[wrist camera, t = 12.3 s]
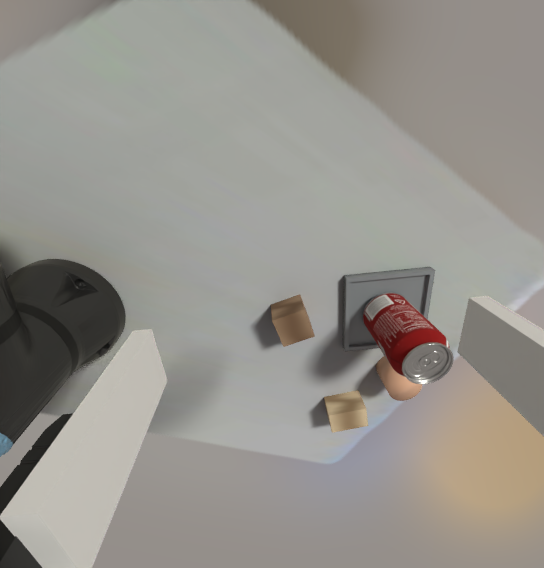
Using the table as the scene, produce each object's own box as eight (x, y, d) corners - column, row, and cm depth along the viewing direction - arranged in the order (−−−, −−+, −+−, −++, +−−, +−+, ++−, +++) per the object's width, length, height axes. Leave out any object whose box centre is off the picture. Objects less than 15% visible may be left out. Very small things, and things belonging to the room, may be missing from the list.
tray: (342, 346, 45) (344, 351, 44) (344, 275, 40) (346, 278, 39) (419, 338, 45) (423, 343, 44) (430, 266, 40) (435, 269, 39)
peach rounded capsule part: (375, 378, 48) (387, 402, 44) (377, 355, 46) (390, 376, 42) (404, 376, 48) (419, 398, 44) (407, 352, 46) (424, 373, 42)
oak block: (326, 412, 51) (332, 432, 47) (323, 396, 49) (329, 415, 46) (360, 406, 51) (367, 425, 47) (358, 389, 49) (366, 408, 46)
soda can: (353, 304, 41) (388, 357, 30) (397, 282, 40) (449, 328, 29) (371, 337, 44) (409, 397, 33) (413, 317, 43) (466, 372, 32)
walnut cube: (281, 328, 43) (283, 346, 39) (270, 304, 42) (272, 320, 38) (309, 319, 43) (314, 336, 39) (299, 294, 41) (304, 309, 37)
